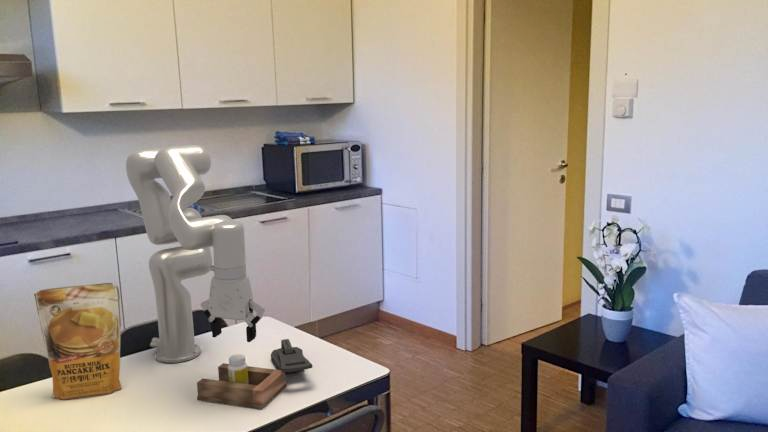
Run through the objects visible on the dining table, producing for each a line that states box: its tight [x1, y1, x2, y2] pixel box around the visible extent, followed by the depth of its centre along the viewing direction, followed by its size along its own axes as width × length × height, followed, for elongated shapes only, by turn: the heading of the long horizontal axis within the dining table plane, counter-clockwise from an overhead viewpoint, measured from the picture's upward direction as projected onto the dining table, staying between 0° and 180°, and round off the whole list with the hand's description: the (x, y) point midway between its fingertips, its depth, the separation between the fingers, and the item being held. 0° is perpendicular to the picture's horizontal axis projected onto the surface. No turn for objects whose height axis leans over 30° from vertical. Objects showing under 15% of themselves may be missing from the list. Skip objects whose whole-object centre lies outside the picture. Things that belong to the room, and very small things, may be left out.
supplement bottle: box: [228, 353, 249, 384], centre depth 164 cm, size 5×5×8 cm
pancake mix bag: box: [33, 282, 123, 400], centre depth 165 cm, size 7×19×28 cm, turn 105°
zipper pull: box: [270, 338, 313, 377], centre depth 176 cm, size 9×7×25 cm
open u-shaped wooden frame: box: [196, 362, 288, 411], centre depth 164 cm, size 18×13×4 cm
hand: (234, 337), depth 163 cm, fingers open, 9 cm apart
